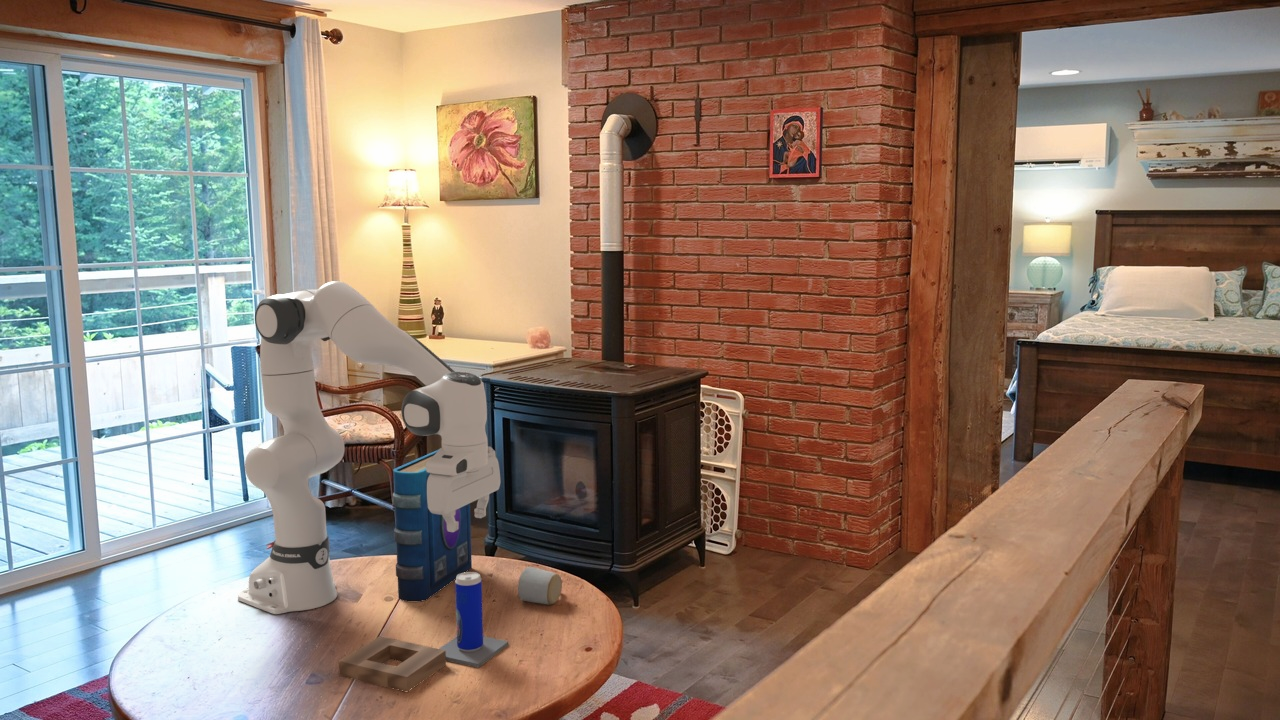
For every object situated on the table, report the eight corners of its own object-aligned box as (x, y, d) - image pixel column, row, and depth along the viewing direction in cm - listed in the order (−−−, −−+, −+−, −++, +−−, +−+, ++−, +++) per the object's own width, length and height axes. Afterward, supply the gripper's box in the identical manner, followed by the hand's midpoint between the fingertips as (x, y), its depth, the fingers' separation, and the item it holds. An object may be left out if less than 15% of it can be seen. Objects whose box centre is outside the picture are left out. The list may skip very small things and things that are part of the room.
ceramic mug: (550, 610, 213) (549, 577, 212) (517, 605, 216) (516, 572, 215) (569, 594, 223) (569, 562, 222) (538, 589, 225) (537, 557, 224)
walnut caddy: (339, 675, 182) (338, 660, 182) (380, 650, 193) (379, 636, 193) (407, 692, 176) (406, 677, 176) (446, 664, 187) (445, 650, 186)
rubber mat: (431, 657, 190) (431, 653, 190) (463, 635, 200) (463, 631, 200) (478, 667, 186) (478, 663, 185) (508, 644, 195) (508, 641, 195)
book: (425, 605, 216) (421, 475, 211) (391, 600, 219) (386, 471, 214) (476, 569, 238) (474, 450, 234) (445, 565, 241) (442, 447, 237)
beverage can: (458, 642, 195) (455, 571, 193) (483, 640, 196) (481, 570, 193) (456, 653, 190) (454, 581, 188) (482, 652, 190) (480, 580, 188)
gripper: (481, 442, 197) (482, 507, 199) (420, 466, 179) (422, 537, 181) (507, 445, 195) (508, 511, 197) (448, 469, 176) (450, 541, 178)
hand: (466, 523), depth 189 cm, fingers open, 8 cm apart
